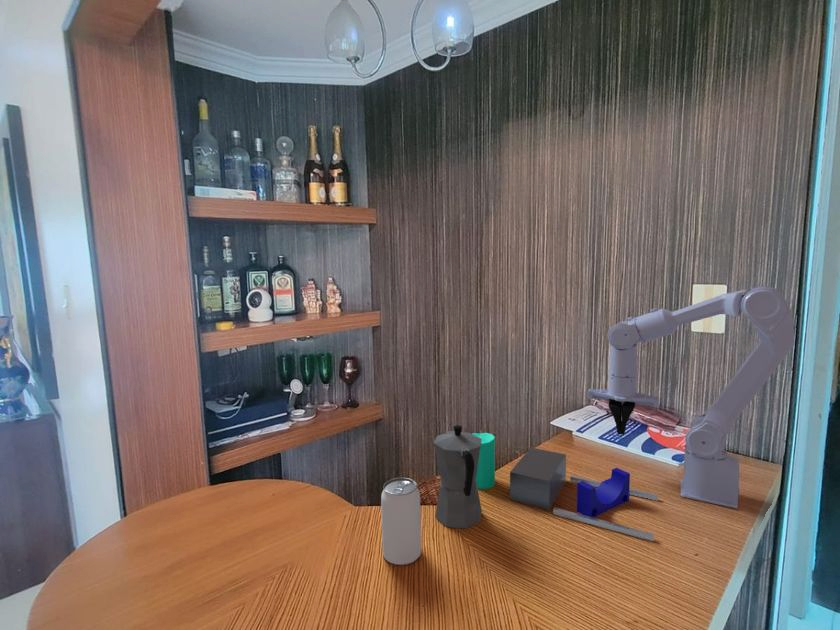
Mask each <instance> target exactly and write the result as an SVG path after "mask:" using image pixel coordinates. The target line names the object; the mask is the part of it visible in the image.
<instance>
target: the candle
mask: <svg viewBox="0 0 840 630" xmlns="http://www.w3.org/2000/svg"><path fill="white" fill-rule="evenodd" d="M472 434H473V435H475V436H477V437H479V438H481V439H482V441H481V448H480V455H479V462H478V469H477V476H476V483H477V487H478V490H480V489H481V490H486V489H491V488H493V487H494V486H495V484H496V444H495V443H496V436H495V435H493V434H492V433H490V432H489V433H488V432H482V430H480V433H476V432H475V433H474V432H472Z"/></svg>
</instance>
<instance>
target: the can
mask: <svg viewBox="0 0 840 630" xmlns="http://www.w3.org/2000/svg"><path fill="white" fill-rule="evenodd" d="M380 498H381V499H380V506H381V507H380V508H381V509H380V510H381V511H380V512H381V535H382V536H381V538H382V539H381V540H382V554H383V557H384V559H385V560H386V561H387V562H388V563H390V564H391V565H395V566H408V565H410V564H412V563H414V562H416V561H417V560H418V558H420V556H421V554H422V523H421V522H422V521H421V519H422V518H421V493H420V490H419V489H418V483H417V482H416V481H415V480H414V479H412V478H407V477H395V478H391V479H389V480H387V481H385V483H384V484H383V490H382V492H381V497H380Z"/></svg>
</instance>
